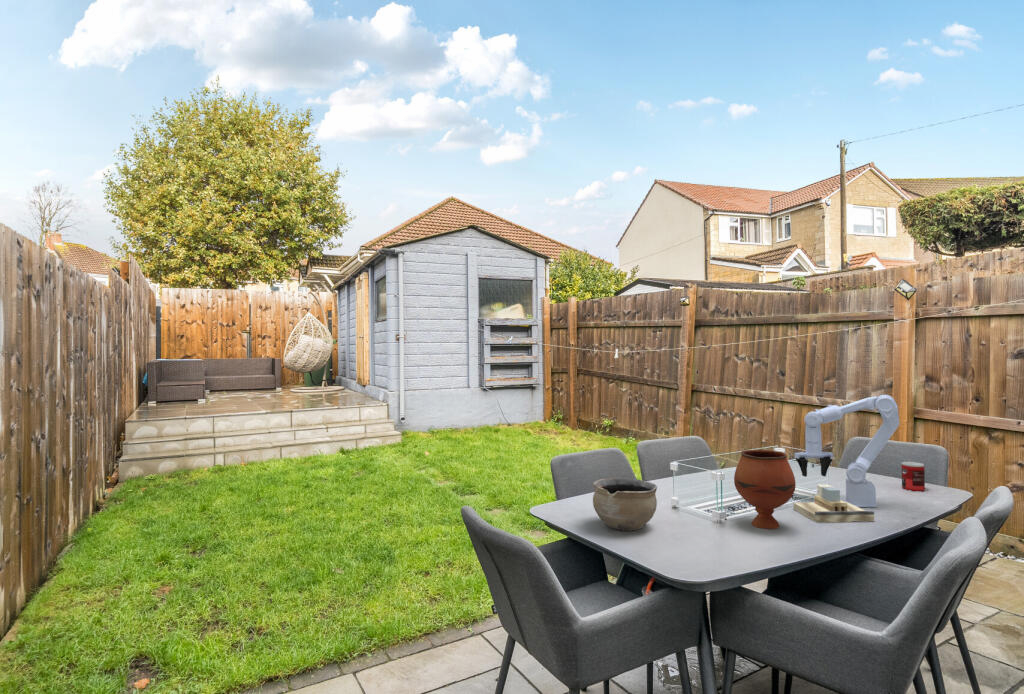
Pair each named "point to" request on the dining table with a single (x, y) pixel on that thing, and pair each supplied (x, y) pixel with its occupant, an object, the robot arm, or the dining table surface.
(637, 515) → the ceramic bowl
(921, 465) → the canned food
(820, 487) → the cream cube
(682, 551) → the dining table surface
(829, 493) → the pale grey cube
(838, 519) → the dock
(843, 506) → the pallet
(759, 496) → the goblet
